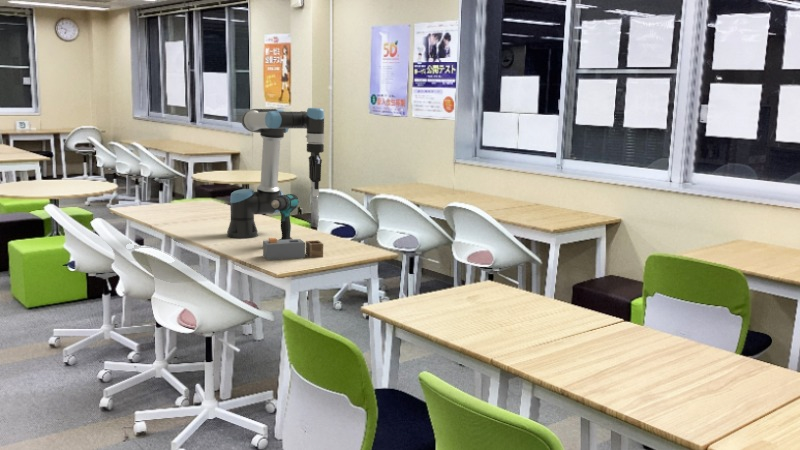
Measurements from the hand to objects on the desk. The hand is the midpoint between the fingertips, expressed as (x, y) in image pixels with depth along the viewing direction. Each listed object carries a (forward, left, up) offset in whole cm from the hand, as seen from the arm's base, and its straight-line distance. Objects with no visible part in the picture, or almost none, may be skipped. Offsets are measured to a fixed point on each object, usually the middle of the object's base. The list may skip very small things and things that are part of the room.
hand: (314, 195), depth 322 cm
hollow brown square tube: (0, 0, -27) cm, 27 cm away
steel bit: (0, 0, -14) cm, 14 cm away
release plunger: (0, -19, -27) cm, 33 cm away
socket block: (0, -13, -27) cm, 31 cm away
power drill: (-22, -9, -28) cm, 36 cm away
